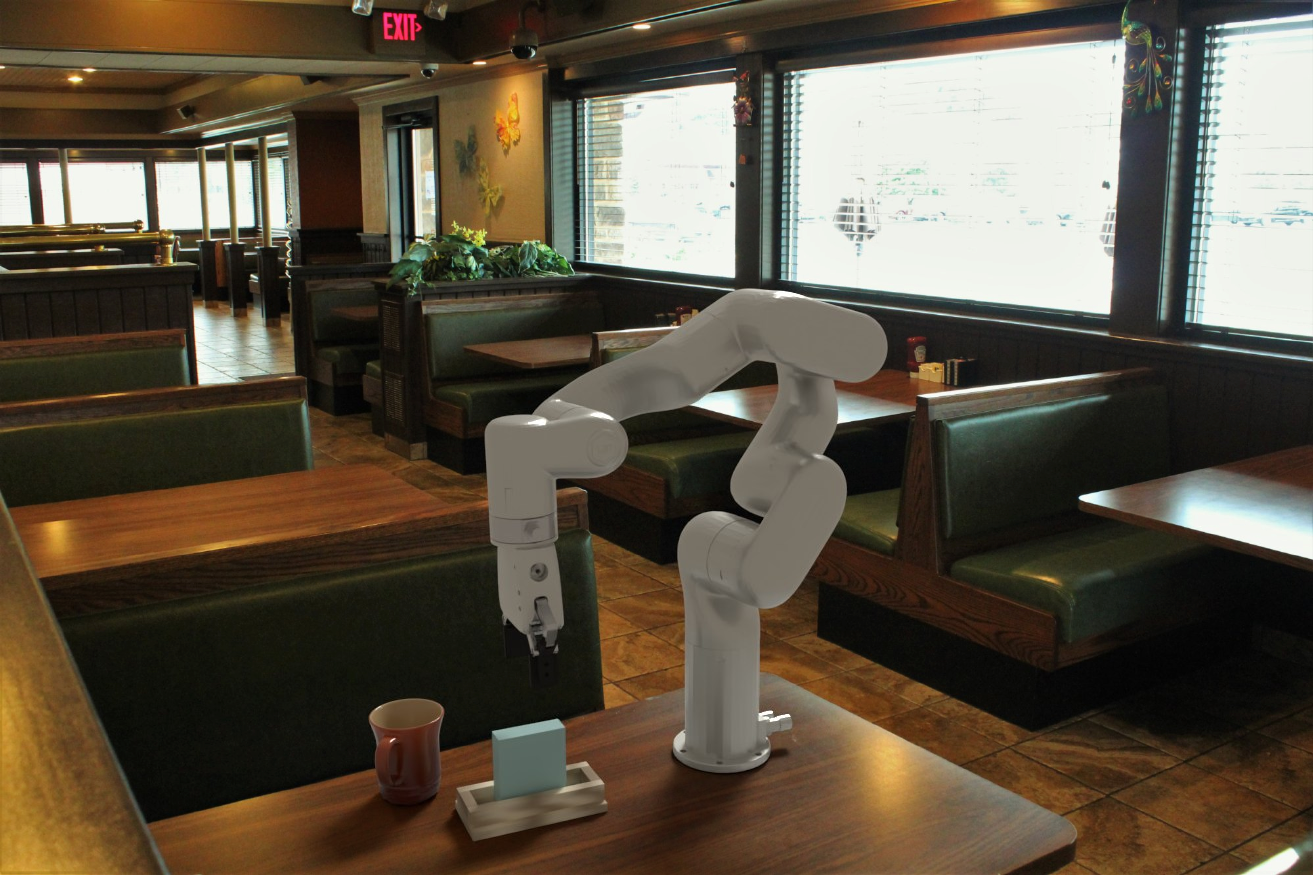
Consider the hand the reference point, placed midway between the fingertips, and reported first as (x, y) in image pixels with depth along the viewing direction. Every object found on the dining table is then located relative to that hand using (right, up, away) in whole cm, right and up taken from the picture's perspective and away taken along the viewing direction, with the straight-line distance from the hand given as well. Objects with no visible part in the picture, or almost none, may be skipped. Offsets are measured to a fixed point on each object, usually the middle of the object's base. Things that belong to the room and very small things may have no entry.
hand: (531, 670), depth 129 cm
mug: (-16, -17, +5) cm, 24 cm away
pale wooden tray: (0, -17, +3) cm, 17 cm away
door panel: (0, -16, +3) cm, 16 cm away
